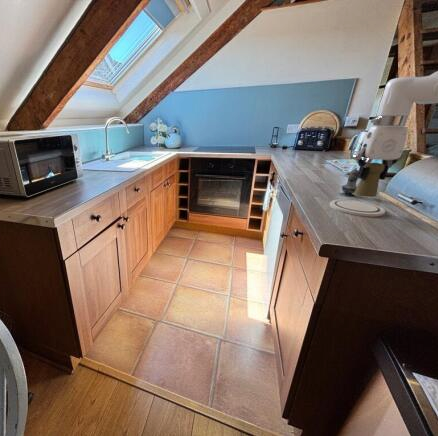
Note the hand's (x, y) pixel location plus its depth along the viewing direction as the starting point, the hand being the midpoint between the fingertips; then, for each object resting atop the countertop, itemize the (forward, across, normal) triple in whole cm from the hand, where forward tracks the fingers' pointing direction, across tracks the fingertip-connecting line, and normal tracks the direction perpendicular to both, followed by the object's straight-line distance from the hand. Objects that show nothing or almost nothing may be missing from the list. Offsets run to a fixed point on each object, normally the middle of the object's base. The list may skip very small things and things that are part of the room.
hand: (370, 178), depth 84 cm
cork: (+6, 0, 0) cm, 6 cm away
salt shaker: (+13, +9, +21) cm, 26 cm away
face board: (+12, +1, +3) cm, 13 cm away
